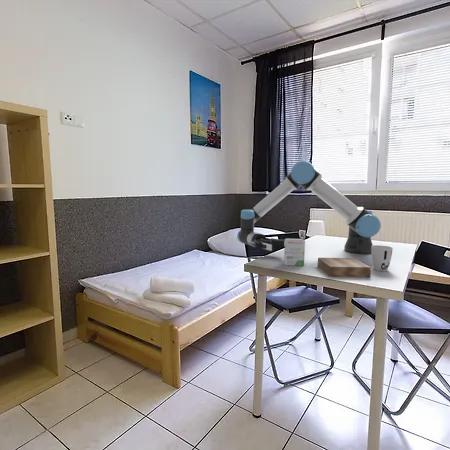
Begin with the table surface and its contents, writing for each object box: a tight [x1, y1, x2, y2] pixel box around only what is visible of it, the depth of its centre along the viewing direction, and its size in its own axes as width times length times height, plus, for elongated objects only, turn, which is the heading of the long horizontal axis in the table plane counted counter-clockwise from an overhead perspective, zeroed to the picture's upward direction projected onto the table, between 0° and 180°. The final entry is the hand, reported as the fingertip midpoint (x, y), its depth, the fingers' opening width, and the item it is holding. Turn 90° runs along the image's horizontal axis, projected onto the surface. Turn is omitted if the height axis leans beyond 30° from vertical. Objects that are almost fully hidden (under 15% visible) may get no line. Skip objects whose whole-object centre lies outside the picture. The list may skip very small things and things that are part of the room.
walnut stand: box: [317, 257, 372, 278], centre depth 125 cm, size 16×16×4 cm
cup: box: [370, 244, 394, 272], centre depth 128 cm, size 8×8×10 cm
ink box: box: [283, 237, 306, 267], centre depth 136 cm, size 9×5×12 cm, turn 84°
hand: (282, 246), depth 142 cm, fingers open, 13 cm apart
